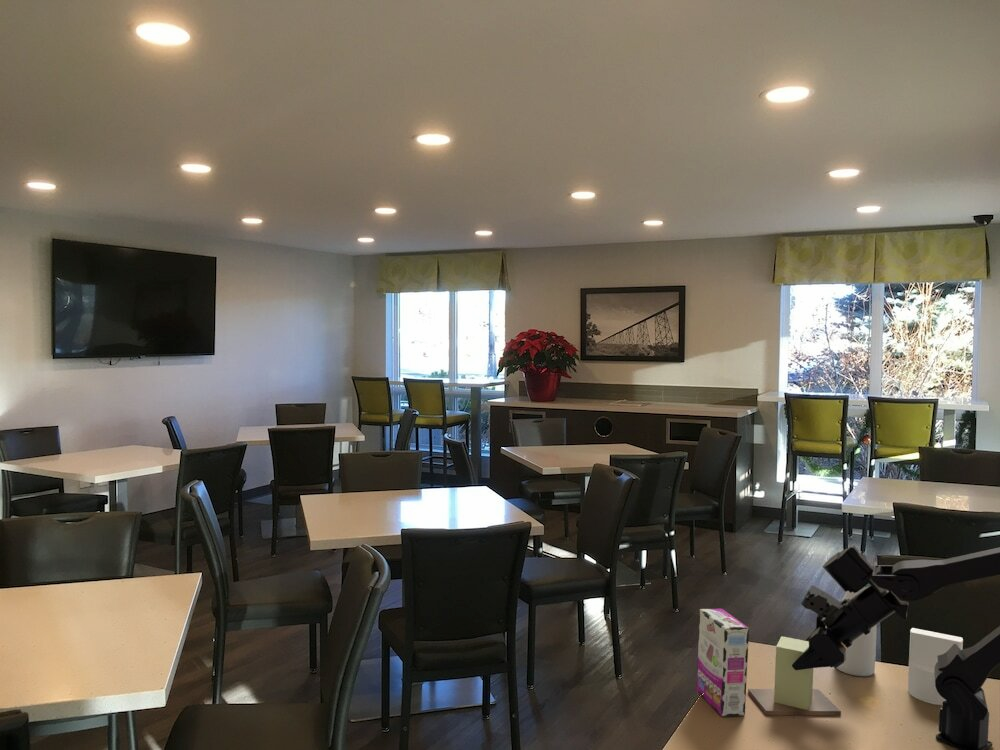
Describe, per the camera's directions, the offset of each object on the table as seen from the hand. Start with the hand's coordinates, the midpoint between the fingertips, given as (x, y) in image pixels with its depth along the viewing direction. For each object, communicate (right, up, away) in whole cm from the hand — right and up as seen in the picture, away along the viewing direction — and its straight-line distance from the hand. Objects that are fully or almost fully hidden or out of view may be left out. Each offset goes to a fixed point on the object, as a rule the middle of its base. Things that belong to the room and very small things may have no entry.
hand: (796, 659), depth 146 cm
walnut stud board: (-1, -9, 0) cm, 9 cm away
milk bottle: (+19, -9, +17) cm, 27 cm away
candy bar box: (-14, -9, 0) cm, 17 cm away
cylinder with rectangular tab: (+29, -9, +6) cm, 31 cm away
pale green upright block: (-1, -8, 0) cm, 8 cm away
